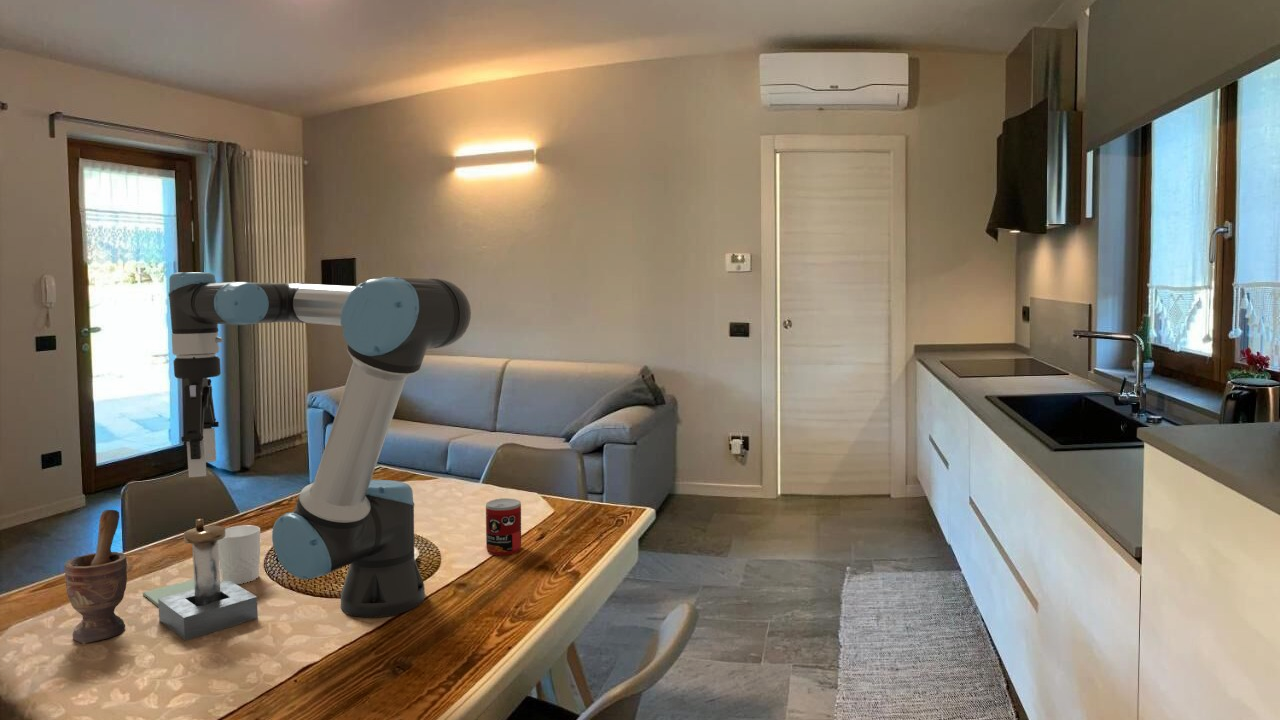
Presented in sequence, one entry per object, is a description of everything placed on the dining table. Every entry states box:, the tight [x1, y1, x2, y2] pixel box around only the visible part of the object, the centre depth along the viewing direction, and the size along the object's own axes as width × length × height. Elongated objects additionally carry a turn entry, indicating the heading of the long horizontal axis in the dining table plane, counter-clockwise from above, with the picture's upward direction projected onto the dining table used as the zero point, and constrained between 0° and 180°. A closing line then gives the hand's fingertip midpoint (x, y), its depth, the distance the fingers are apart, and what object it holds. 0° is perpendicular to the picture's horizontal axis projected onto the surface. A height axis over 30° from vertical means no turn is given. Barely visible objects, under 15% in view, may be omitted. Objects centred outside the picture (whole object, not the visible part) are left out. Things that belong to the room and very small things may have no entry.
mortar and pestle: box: [64, 509, 128, 645], centre depth 134 cm, size 12×9×20 cm
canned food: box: [485, 498, 522, 556], centre depth 177 cm, size 8×8×11 cm
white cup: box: [218, 524, 261, 585], centre depth 159 cm, size 8×8×10 cm
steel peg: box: [183, 518, 226, 607], centre depth 139 cm, size 6×6×18 cm
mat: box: [142, 578, 194, 608], centre depth 151 cm, size 10×10×1 cm
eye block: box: [158, 580, 259, 642], centre depth 139 cm, size 12×12×4 cm
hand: (203, 468), depth 147 cm, fingers open, 13 cm apart
